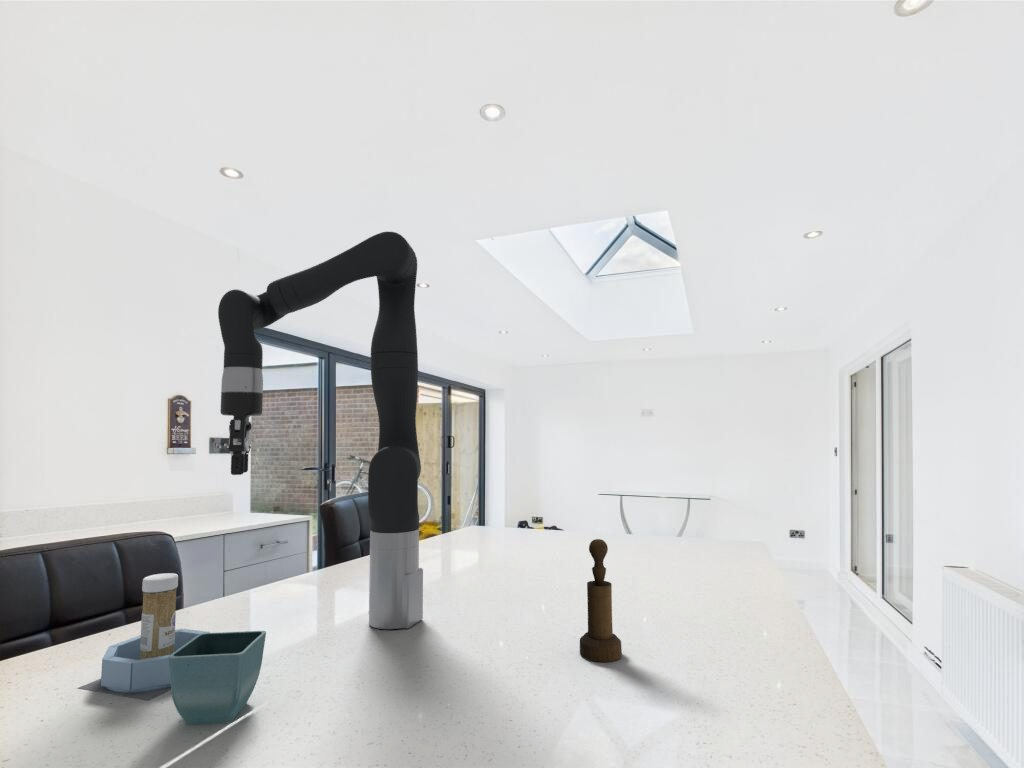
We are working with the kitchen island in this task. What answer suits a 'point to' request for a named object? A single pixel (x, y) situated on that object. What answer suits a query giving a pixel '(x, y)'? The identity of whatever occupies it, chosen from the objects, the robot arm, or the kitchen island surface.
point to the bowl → (139, 665)
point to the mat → (143, 696)
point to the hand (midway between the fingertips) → (239, 473)
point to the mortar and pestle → (599, 612)
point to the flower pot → (215, 675)
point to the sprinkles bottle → (158, 615)
